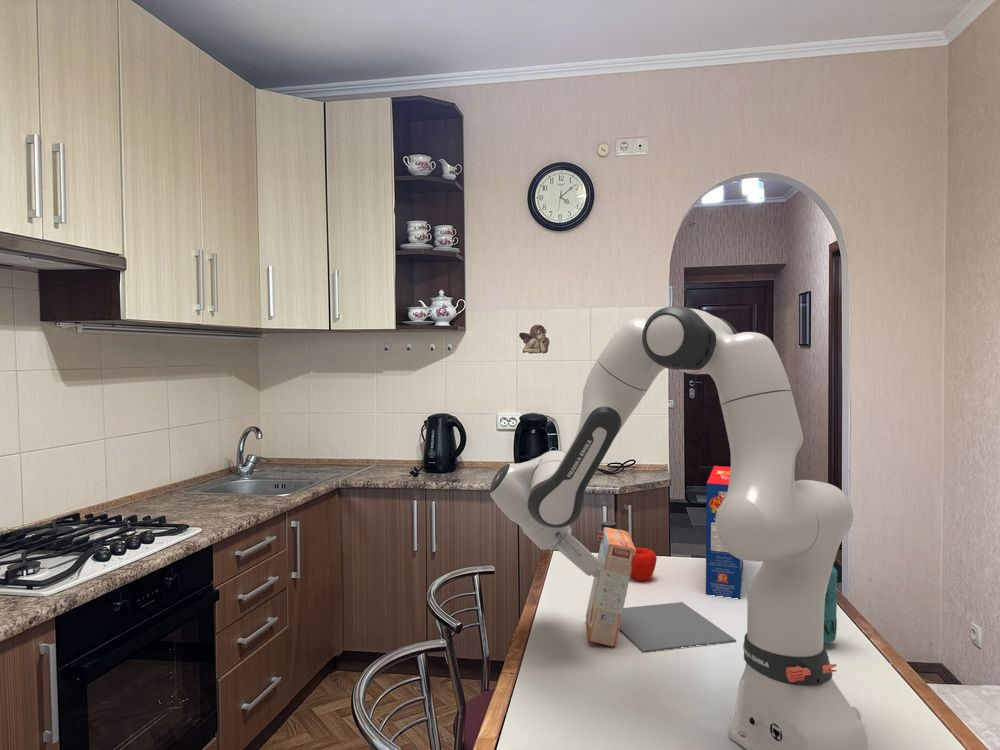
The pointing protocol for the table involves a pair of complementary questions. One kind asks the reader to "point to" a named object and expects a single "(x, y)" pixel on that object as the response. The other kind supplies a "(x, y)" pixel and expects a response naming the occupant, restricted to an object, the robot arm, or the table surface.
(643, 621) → the mat
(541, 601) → the table surface
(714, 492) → the pasta box
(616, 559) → the cracker box
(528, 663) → the table surface
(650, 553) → the apple
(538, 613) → the table surface
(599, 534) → the supplement bottle
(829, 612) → the beverage bottle
